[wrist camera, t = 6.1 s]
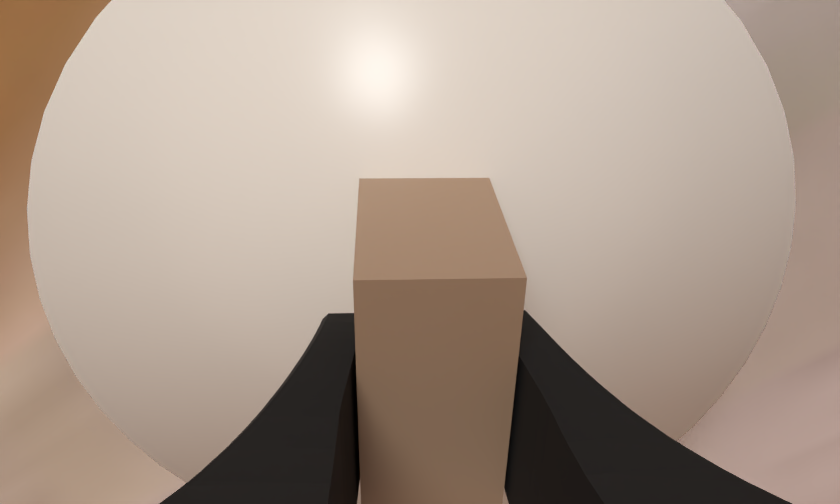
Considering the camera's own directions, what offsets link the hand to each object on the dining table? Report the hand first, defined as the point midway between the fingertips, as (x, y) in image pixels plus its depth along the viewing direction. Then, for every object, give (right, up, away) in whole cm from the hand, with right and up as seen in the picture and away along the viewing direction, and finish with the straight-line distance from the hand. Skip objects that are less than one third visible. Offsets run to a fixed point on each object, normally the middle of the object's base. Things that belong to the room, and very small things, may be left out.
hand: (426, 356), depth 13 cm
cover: (0, +1, +2) cm, 2 cm away
